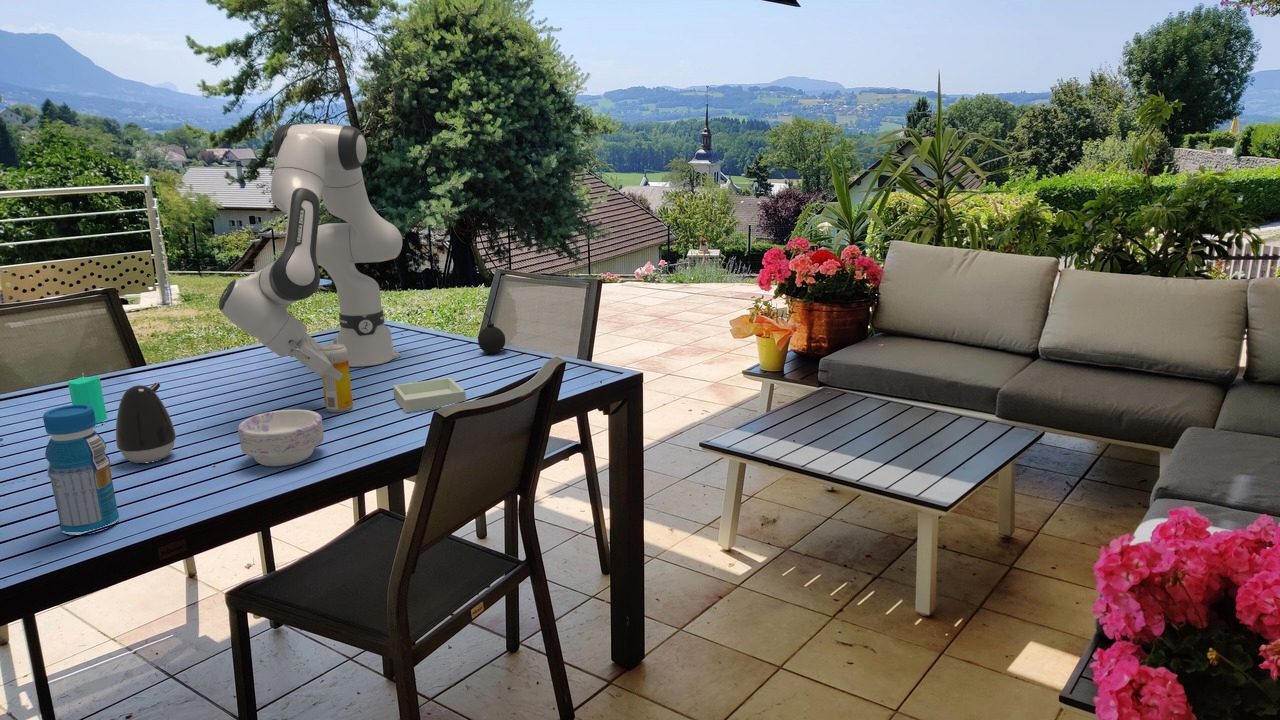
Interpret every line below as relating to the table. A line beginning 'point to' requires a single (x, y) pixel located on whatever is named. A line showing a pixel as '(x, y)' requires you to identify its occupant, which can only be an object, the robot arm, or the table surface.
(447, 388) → the tray
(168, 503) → the table surface
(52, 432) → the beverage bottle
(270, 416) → the paper bowls
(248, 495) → the table surface
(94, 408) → the candle
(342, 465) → the table surface
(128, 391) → the pump dispenser
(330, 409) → the beer can
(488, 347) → the bomb
